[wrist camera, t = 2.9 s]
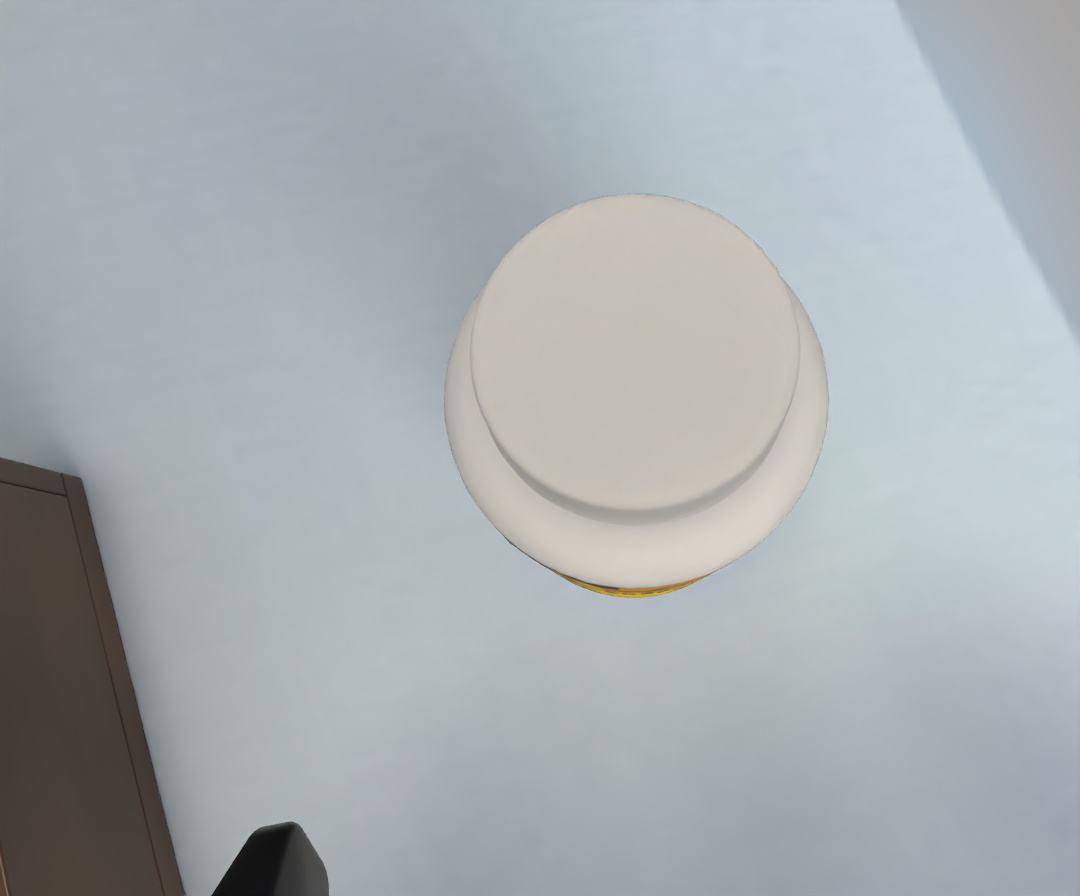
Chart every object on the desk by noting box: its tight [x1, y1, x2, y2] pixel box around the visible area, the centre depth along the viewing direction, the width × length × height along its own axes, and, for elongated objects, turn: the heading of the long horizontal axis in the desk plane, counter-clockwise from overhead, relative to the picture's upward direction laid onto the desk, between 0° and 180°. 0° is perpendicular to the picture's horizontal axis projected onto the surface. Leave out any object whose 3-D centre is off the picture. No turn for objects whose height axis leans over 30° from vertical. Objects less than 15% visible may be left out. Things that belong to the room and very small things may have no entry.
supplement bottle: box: [444, 194, 829, 597], centre depth 16 cm, size 6×6×10 cm
